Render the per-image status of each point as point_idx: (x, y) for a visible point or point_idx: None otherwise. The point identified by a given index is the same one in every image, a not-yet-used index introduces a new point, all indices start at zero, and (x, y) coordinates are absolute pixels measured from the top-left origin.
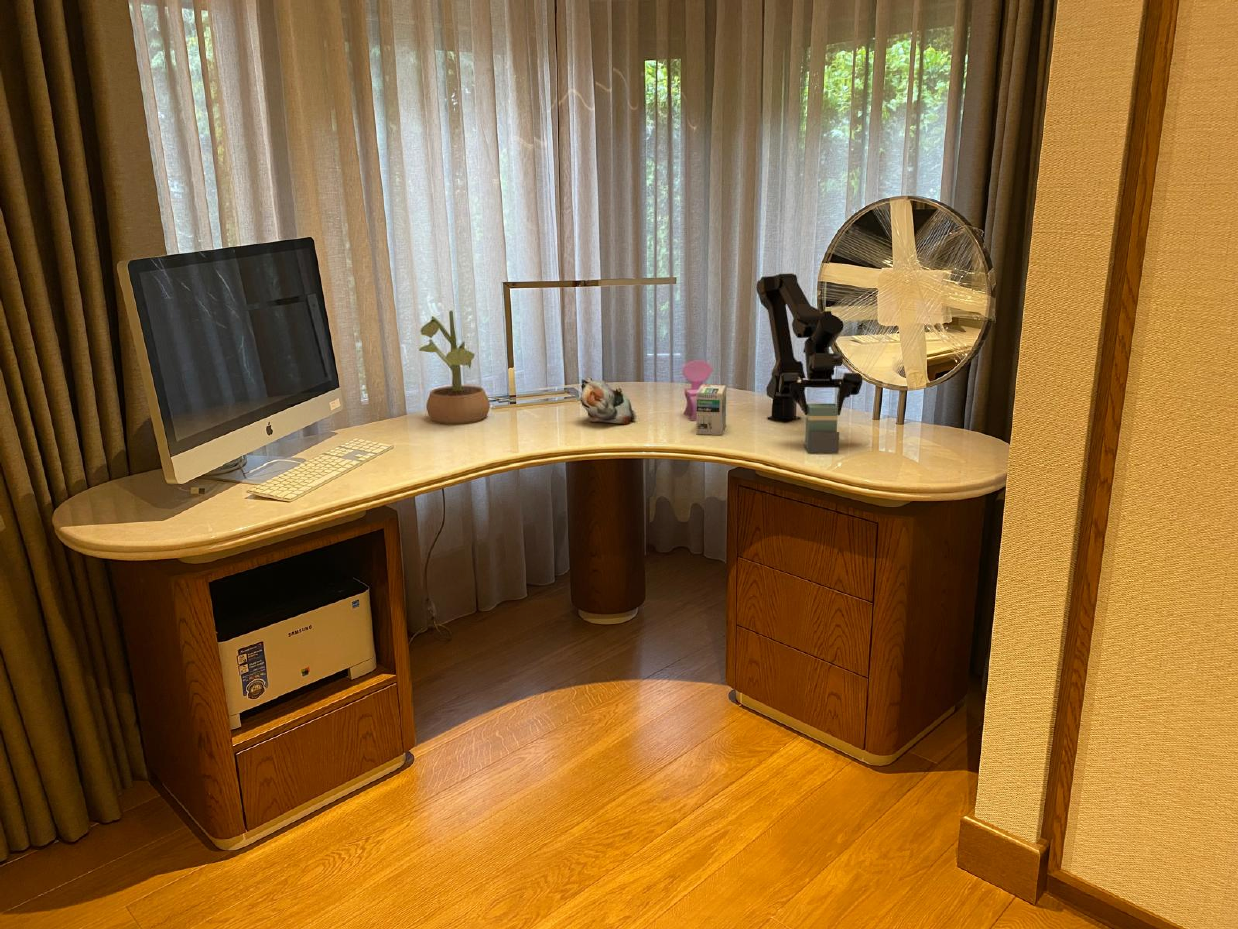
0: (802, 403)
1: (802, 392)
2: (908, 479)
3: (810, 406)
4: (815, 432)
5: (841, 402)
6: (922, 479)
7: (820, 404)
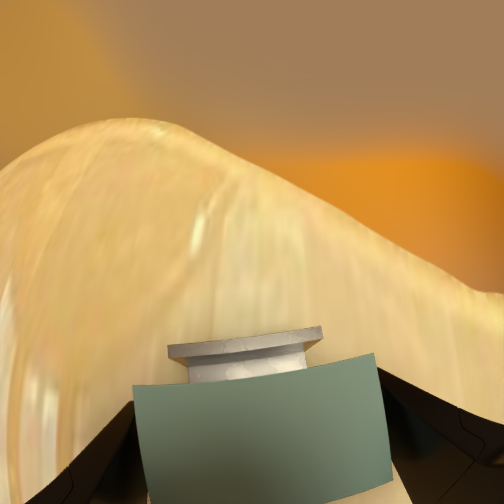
0: (434, 396)
1: (492, 451)
2: (78, 156)
3: (368, 393)
4: (287, 331)
5: (92, 451)
6: (56, 162)
7: (283, 485)
